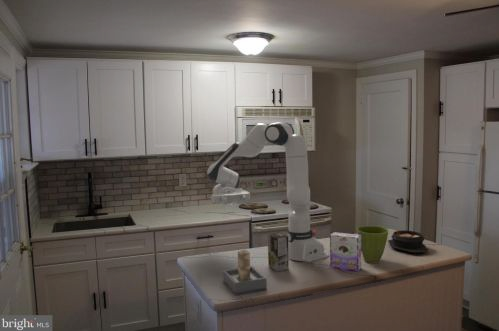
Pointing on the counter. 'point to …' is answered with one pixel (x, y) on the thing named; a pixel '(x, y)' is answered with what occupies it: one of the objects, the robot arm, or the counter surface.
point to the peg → (243, 265)
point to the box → (252, 285)
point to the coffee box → (278, 251)
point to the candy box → (345, 251)
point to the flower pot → (372, 242)
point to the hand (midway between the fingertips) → (235, 199)
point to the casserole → (408, 241)
